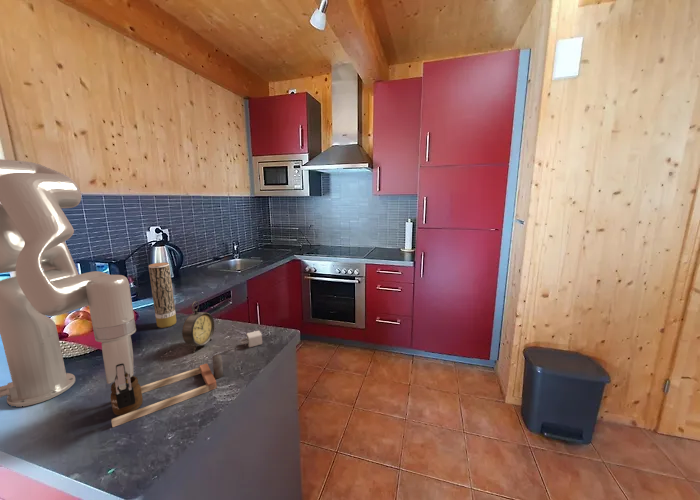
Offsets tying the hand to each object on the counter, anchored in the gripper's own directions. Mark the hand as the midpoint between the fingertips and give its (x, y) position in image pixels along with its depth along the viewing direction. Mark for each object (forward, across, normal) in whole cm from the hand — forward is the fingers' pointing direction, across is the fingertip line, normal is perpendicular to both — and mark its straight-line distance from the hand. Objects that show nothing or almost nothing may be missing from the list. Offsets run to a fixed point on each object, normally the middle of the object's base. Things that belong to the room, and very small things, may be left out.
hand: (126, 395), depth 71 cm
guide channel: (+3, 0, +9) cm, 10 cm away
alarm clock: (+4, -22, +20) cm, 30 cm away
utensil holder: (+4, 0, 0) cm, 4 cm away
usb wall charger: (+4, -12, +34) cm, 36 cm away
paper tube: (+3, -49, +13) cm, 51 cm away
